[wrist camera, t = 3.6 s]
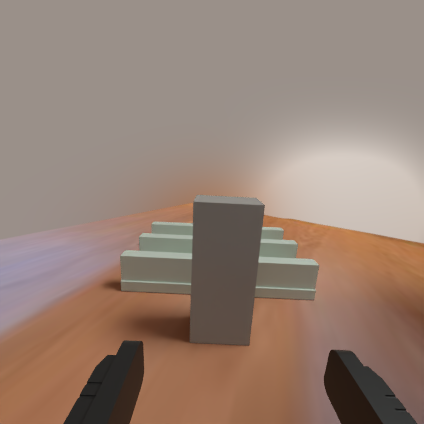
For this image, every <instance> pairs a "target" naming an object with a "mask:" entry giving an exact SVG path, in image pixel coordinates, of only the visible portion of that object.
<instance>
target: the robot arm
mask: <svg viewBox="0 0 424 424" xmlns="http://www.w3.org/2000/svg"><path fill="white" fill-rule="evenodd" d="M143 375H144V355H143V342H142V341H126V340H125V341H123V343H122V344H121V346H120V348H119V350H118V352H117V354H116V355H107V356H106V357H105V358H104V359H103V360H102V361H101V362H100V363H99V364H98V365H97V366H96V367H95V369H94V371H93V373H92V374H91V376H90V378H89V380H88V381H87V385H85V387H84V388H83V390H82V392H81V394H80V397H79V398H78V399H77V401H76V403H75V404H74V406H73V408H72V410H71V411H70V413H69V415H68V417H67V418H66V420H65V422H64V424H129V423H130V420H131V417H132V414H133V411H134V408H135V405H136V401H137V398H138V395H139V392H140V389H141V385H142V381H143ZM324 385H325V389H326V393H327V395H328V397H329V399H330V402H331V404H332V406H333V408H334V410H335V412H336V414H337V416H338V418H339V420H340V422H341V424H417V423H416V421H415V420H414V419H413V418H412V416H411V415H410V414H409V413H407V411H406V409H405V407H404V406H403V405H402V403H401V402H400V401H399V400H398V399H397V398H396V397H395V394H394V393H393V392H392V391H391V389H390V388H389V387H388V385H387V384H386V383H385V382H384V380H383V379H382V378H381V377H379V376H378V375H377V374H376V373H375V372H374V371H372V370H371V369H370V368H369V367H367V366H363V365H362V363H361V362H360V361H359V359H358V358H357V357H356V355H355V354H354V353H353V352H352V351H347V350H331V351H330V353H329V357H328V362H327V366H326V371H325V375H324Z"/></svg>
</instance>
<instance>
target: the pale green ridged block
mask: <svg viewBox="0 0 424 424" xmlns="http://www.w3.org/2000/svg"><path fill="white" fill-rule="evenodd" d="M283 233H284V230H283V229H282V228H274V227H262V234H261V243H260V252H259V261H258V270H257V280H256V289H255V297H261V298H283V299H304V300H314V298H315V293H316V290H315V286H316V280H317V275H318V270H319V265H318V264H317V263H316V262H315V261H314V260H313V259H297V258H296V254H297V247H298V244H297V243H296V242H295V241H294V240H283ZM192 239H193V223H172V222H153V223H152V234H150V233H142V234H141V235H140V236H139V249H140V251H132V250H125V251H124V252H123V253H122V255H121V256H120V261H121V278H122V280H121V291H135V292H156V293H177V294H191V275H192Z"/></svg>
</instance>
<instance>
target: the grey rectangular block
mask: <svg viewBox="0 0 424 424" xmlns="http://www.w3.org/2000/svg"><path fill="white" fill-rule="evenodd" d="M264 206H265V205H264V204H263V203H261V202H260V201H259V200H258V199H257V198H246V197H245V198H244V197H226V196H225V197H224V196H204V195H197V196H196V198H195V200H194V204H193V239H192V275H191V310H190V343H206V344H228V345H249V343H250V334H251V325H252V316H253V307H254V298H255V289H256V280H257V270H258V261H259V252H260V243H261V234H262V225H263V216H264Z"/></svg>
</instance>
